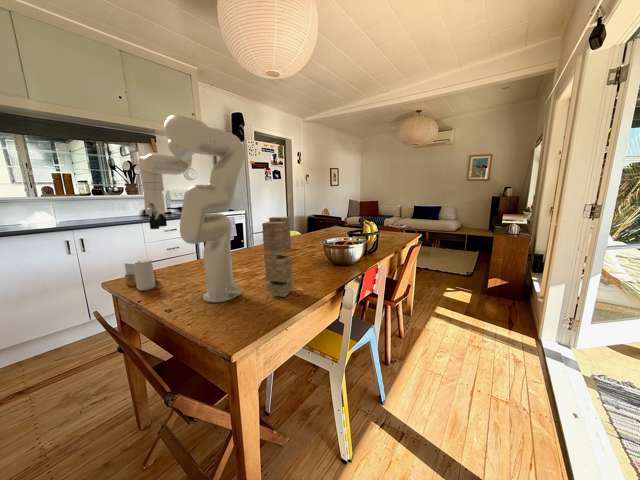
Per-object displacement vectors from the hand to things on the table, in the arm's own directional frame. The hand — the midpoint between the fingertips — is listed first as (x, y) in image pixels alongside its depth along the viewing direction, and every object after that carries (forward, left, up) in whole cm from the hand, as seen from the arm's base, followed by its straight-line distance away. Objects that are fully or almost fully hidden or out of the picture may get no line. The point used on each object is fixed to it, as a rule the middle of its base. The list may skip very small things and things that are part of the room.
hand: (159, 227), depth 110 cm
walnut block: (+10, +4, -25) cm, 27 cm away
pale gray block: (+10, +4, -20) cm, 22 cm away
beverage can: (+1, +9, -25) cm, 26 cm away
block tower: (-56, -1, -25) cm, 61 cm away
